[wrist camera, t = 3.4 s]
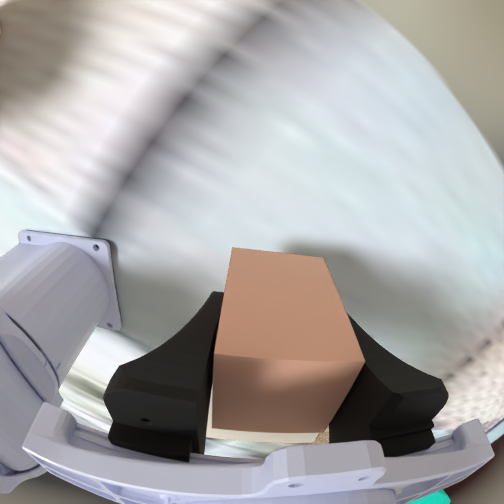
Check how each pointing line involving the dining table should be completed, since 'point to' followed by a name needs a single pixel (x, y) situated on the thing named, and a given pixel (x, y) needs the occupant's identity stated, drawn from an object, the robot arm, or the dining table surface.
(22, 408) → the robot arm
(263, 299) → the block
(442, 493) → the table top decor
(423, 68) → the dining table surface
